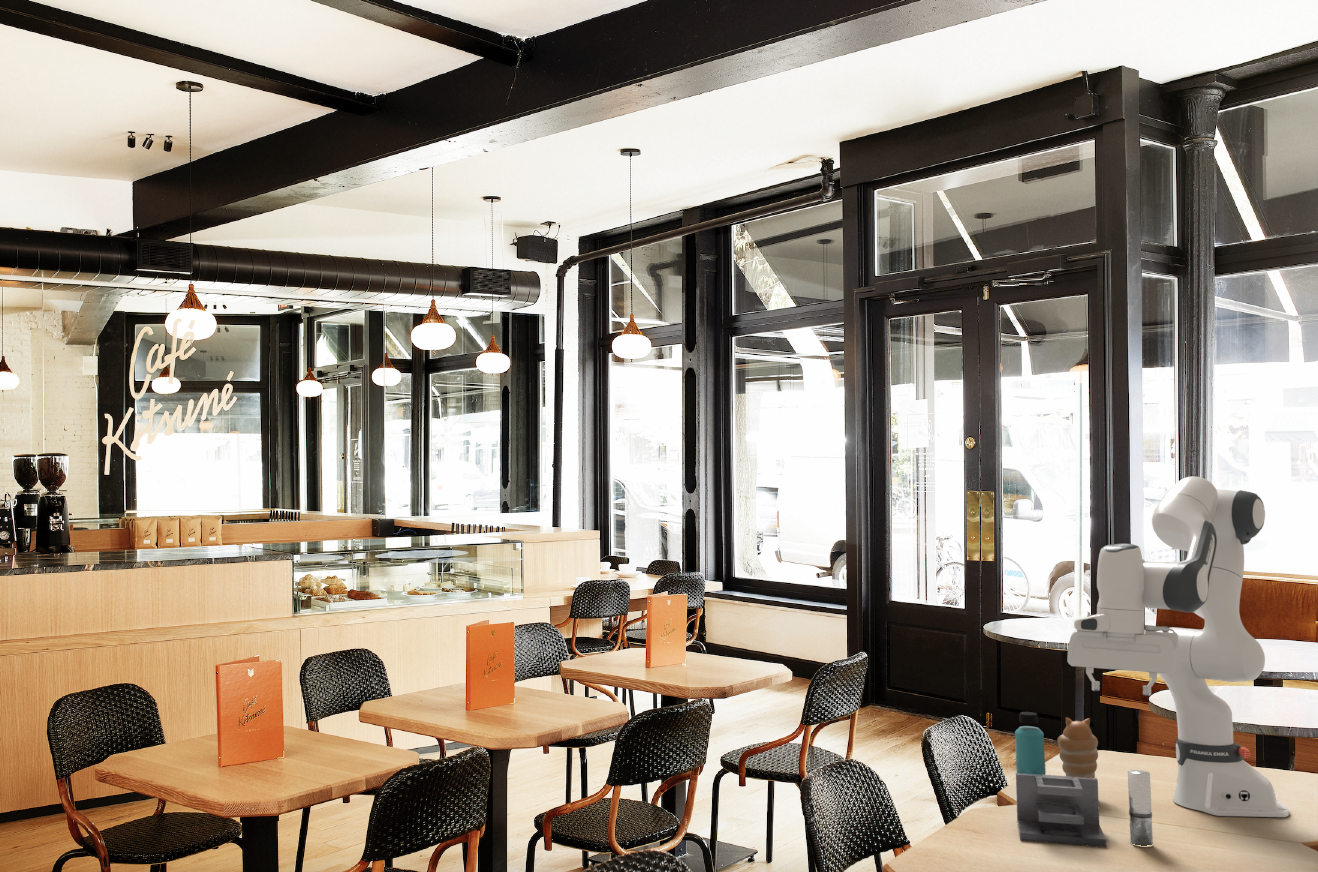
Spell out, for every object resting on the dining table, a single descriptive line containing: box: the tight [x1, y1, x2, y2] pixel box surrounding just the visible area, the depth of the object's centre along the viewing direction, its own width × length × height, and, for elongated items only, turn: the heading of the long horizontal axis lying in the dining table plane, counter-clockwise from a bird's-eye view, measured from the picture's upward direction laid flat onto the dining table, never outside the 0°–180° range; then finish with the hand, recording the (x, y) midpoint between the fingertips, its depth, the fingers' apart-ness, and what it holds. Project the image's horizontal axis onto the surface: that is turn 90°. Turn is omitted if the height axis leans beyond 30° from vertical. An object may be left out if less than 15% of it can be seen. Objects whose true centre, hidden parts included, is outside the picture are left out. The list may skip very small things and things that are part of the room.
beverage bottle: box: [1014, 711, 1047, 775], centre depth 233 cm, size 6×7×20 cm
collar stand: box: [1015, 772, 1107, 848], centre depth 209 cm, size 16×12×10 cm
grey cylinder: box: [1127, 769, 1154, 846], centre depth 203 cm, size 4×4×14 cm
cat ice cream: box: [1057, 716, 1099, 778], centre depth 237 cm, size 9×8×18 cm
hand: (1121, 692), depth 205 cm, fingers open, 8 cm apart
